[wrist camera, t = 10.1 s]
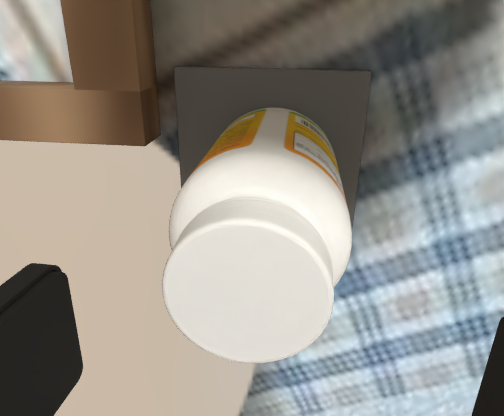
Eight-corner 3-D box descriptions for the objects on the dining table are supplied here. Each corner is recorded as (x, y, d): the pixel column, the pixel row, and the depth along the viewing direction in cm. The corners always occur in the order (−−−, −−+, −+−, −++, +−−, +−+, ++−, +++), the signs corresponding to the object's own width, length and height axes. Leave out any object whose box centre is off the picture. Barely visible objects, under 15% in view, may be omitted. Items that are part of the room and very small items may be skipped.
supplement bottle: (211, 214, 19) (134, 370, 11) (216, 99, 17) (124, 175, 8) (325, 228, 19) (344, 402, 10) (345, 112, 17) (391, 205, 8)
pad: (369, 70, 17) (371, 72, 16) (348, 243, 20) (349, 249, 19) (177, 66, 17) (173, 67, 17) (187, 233, 21) (184, 238, 20)
